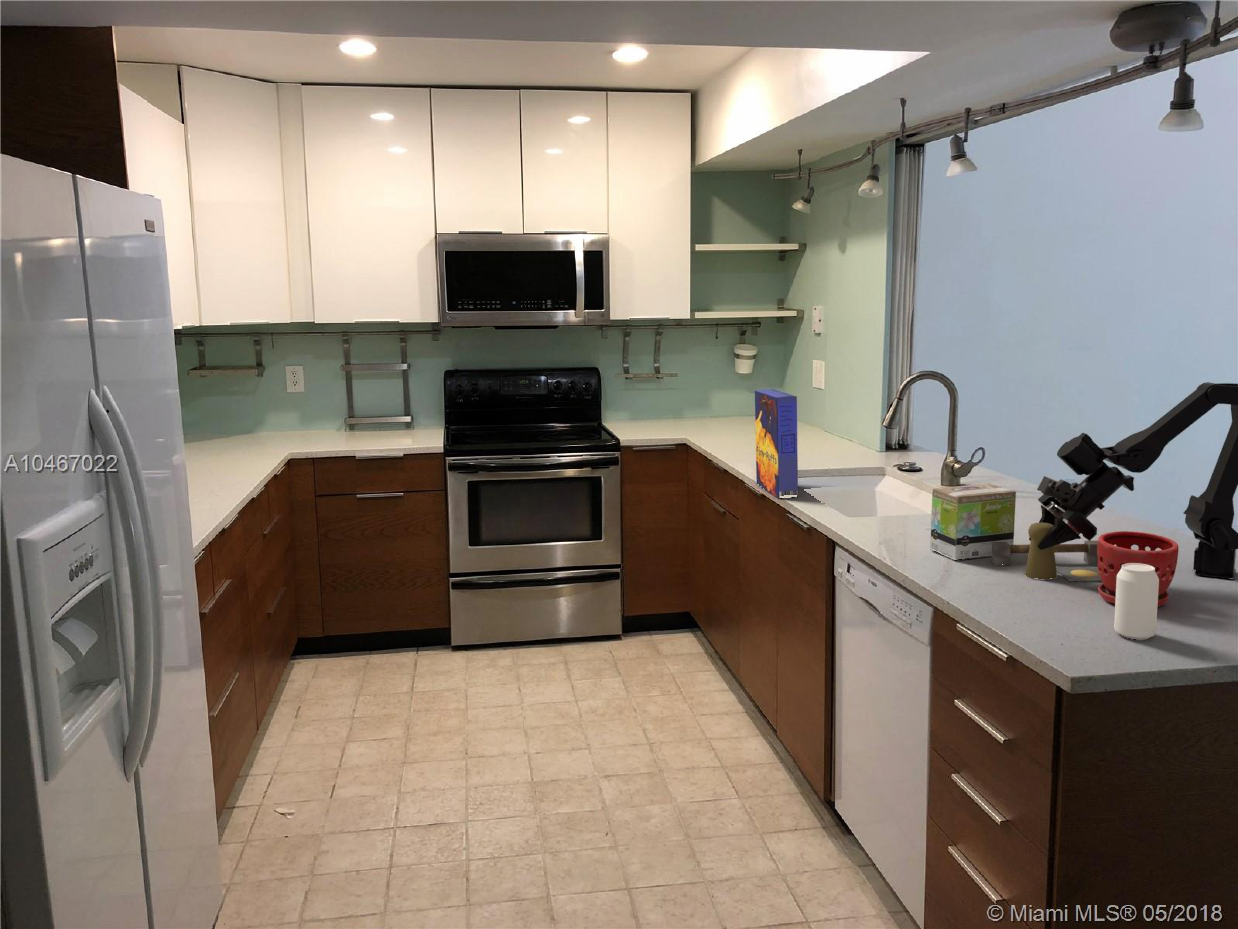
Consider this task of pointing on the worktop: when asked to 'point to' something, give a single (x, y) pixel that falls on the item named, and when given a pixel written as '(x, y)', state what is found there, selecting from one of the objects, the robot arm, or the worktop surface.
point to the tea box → (971, 519)
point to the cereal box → (776, 442)
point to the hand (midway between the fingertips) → (1034, 544)
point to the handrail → (1089, 548)
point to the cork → (1040, 554)
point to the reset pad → (1080, 574)
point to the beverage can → (1136, 601)
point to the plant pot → (1135, 559)
